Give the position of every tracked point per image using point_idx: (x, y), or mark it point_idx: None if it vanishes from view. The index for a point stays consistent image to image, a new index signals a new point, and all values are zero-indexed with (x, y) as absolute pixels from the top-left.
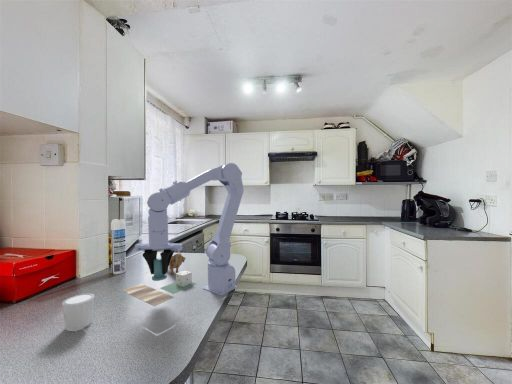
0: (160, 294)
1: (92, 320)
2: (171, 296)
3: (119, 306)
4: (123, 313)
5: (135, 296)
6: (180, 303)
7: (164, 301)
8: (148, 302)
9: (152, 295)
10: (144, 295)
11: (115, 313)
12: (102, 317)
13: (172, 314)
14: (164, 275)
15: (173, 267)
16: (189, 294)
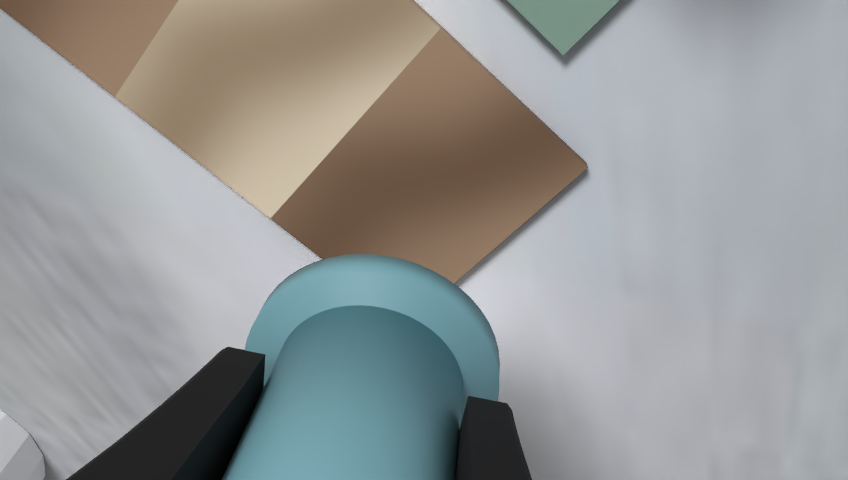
0: (383, 56)
1: (23, 446)
2: (547, 142)
3: (52, 242)
4: (177, 367)
5: (78, 63)
6: (669, 298)
7: (487, 253)
8: (316, 244)
9: (285, 67)
10: (177, 49)
11: (108, 354)
12: (49, 389)
13: (608, 458)
14: (462, 405)
15: None
16: (789, 88)
